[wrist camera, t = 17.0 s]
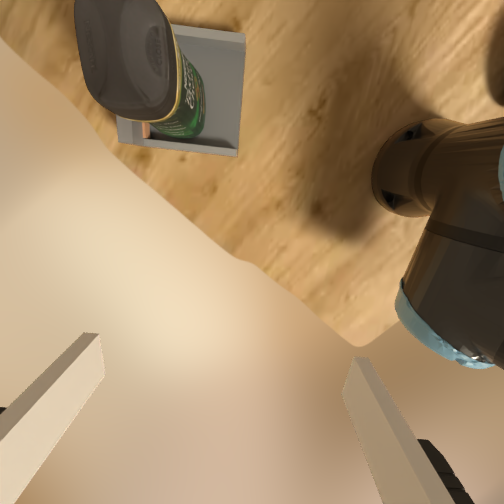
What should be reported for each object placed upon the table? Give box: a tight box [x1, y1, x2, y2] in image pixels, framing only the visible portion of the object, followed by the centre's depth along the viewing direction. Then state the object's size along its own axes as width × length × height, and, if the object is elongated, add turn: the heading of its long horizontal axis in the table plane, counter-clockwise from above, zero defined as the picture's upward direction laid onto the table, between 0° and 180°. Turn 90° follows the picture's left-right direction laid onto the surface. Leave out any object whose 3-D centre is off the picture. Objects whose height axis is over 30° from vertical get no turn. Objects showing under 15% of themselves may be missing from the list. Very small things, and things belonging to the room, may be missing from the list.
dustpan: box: [116, 24, 246, 157], centre depth 31 cm, size 17×15×11 cm
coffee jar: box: [74, 0, 206, 139], centre depth 27 cm, size 10×8×19 cm
